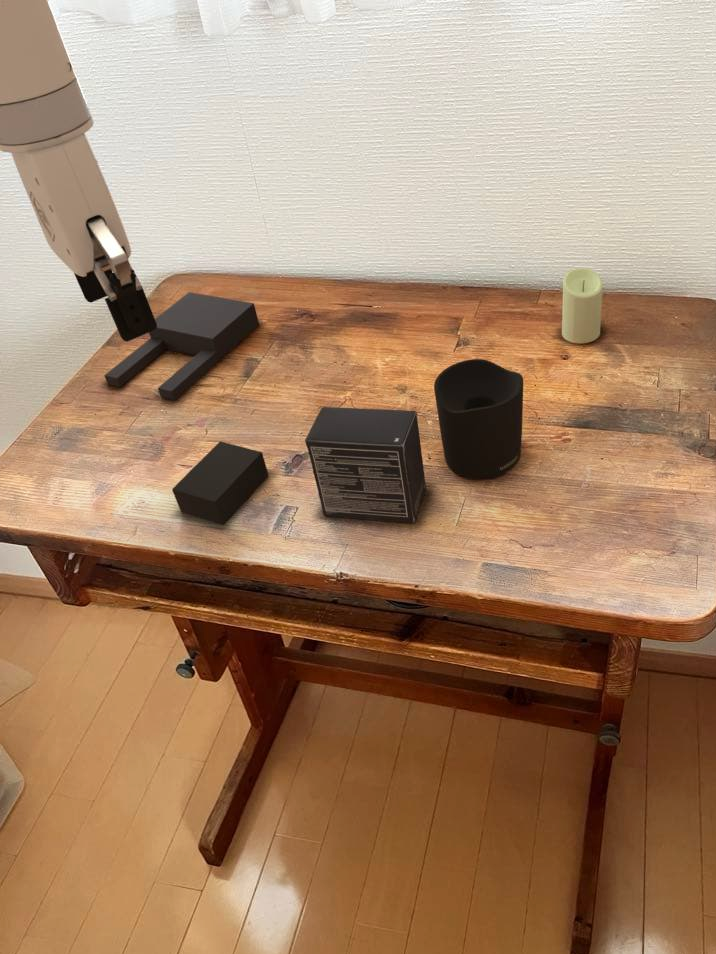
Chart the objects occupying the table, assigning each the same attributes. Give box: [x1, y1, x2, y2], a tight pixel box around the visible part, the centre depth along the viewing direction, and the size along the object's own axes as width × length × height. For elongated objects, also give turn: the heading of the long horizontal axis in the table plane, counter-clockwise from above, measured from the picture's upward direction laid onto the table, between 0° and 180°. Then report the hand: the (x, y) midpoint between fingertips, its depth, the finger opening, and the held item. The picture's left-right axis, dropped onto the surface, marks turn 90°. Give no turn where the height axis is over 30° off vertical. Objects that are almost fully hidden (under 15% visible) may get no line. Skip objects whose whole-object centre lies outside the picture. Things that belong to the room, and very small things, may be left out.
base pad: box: [103, 291, 260, 401], centre depth 117 cm, size 20×12×4 cm, turn 153°
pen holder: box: [433, 358, 524, 480], centre depth 91 cm, size 9×9×10 cm
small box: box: [304, 406, 427, 524], centre depth 88 cm, size 11×6×10 cm, turn 77°
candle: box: [561, 267, 604, 345], centre depth 108 cm, size 5×5×8 cm
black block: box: [171, 440, 269, 526], centre depth 94 cm, size 9×6×4 cm, turn 153°
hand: (121, 314), depth 75 cm, fingers open, 9 cm apart
